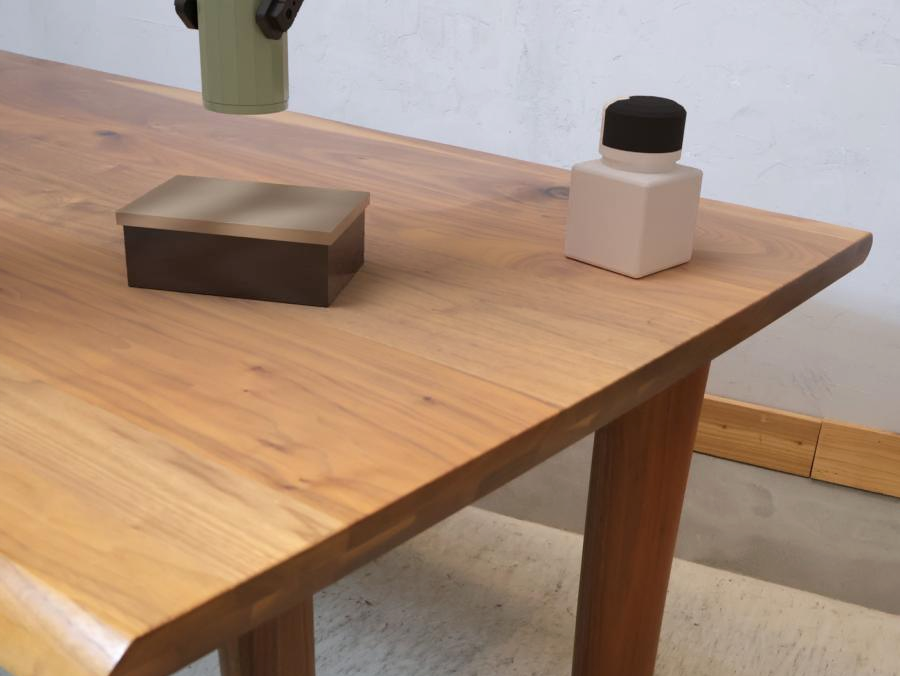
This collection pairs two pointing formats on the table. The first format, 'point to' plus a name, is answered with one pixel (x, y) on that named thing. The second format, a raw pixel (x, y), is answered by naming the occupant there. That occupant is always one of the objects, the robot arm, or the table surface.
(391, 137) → the table surface
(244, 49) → the cup
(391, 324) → the table surface
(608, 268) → the medicine bottle
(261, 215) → the shoebox
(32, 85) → the table surface
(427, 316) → the table surface
